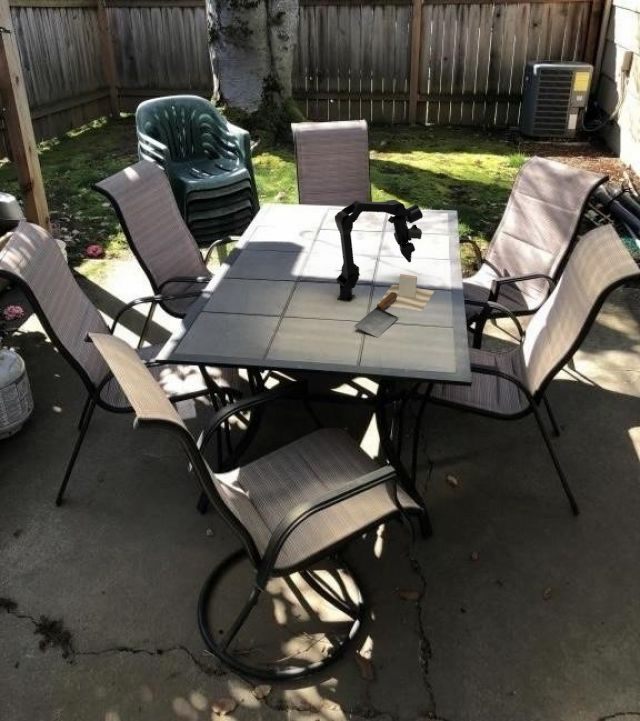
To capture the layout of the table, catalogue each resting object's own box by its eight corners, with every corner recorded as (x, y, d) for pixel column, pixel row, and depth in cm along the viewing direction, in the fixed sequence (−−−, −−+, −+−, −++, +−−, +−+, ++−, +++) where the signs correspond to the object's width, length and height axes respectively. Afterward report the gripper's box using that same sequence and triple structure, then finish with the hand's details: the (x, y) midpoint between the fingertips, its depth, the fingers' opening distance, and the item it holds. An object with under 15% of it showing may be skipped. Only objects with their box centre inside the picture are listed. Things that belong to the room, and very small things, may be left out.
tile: (414, 298, 293) (415, 277, 288) (398, 295, 296) (399, 275, 290) (415, 296, 294) (416, 276, 289) (399, 294, 297) (400, 274, 292)
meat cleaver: (378, 337, 265) (378, 328, 263) (353, 330, 270) (353, 322, 268) (413, 303, 289) (413, 295, 287) (390, 298, 294) (390, 290, 292)
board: (421, 313, 283) (421, 311, 282) (377, 306, 290) (377, 304, 289) (434, 292, 300) (434, 290, 299) (392, 286, 307) (392, 284, 306)
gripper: (423, 231, 283) (429, 261, 292) (414, 213, 298) (420, 243, 307) (398, 238, 284) (405, 269, 293) (390, 220, 299) (397, 250, 308)
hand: (407, 257), depth 300 cm, fingers open, 9 cm apart
